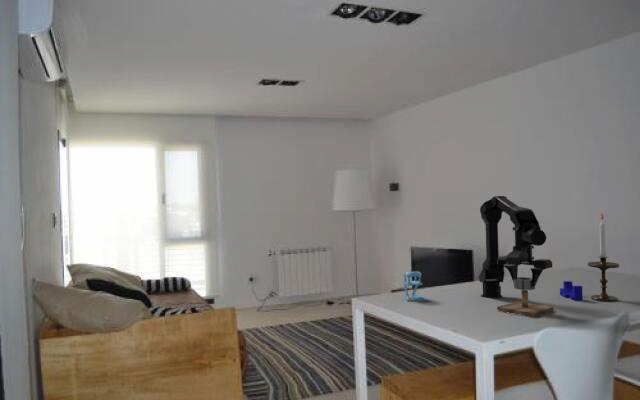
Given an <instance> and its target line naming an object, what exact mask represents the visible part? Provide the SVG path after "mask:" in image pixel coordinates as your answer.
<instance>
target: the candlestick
mask: <svg viewBox="0 0 640 400" xmlns="http://www.w3.org/2000/svg"><path fill="white" fill-rule="evenodd" d="M600 219H601V220H600V221H601V222H600V223H599V254H600V256H598V258H599V261H590V262H587V267H591V268H597V269H599V271H600V270H601V279H599V283H600V284H601V286H600V288H601V293H600V294H594V295H590V297H591V298H590V299H591V300H592V301H596V302H601V303H602V302H603V303H604V302H606V303H614V302H618V297H617V296H613V295H608V293H607V288H608V286H607V284H608V279H606V271H607V270H609V269H617V268H620V264H619V263H617V262H611V261H607V258H609V256H606V255H607V254H606V252H607V251H606V249H607V248H606V223H604V215H603V212H601V214H600Z"/></svg>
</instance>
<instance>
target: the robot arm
mask: <svg viewBox="0 0 640 400" xmlns="http://www.w3.org/2000/svg"><path fill="white" fill-rule="evenodd" d="M479 212H480V215H481V216H480V217H481V219H482V220H483V223H484V224H485V246H486V248H485V249H486V251H485V253H486V255H485V256H486V258H485V260H484V261H483V263H482V269H481V271H480V273H479V275H478V280H479V282H480V283H481V284H482V294H480V296H481V297H484V298H491V299H497V298H500V297H503V295H502V293H501V292H502V287H501V283H504V279H505V269H507V271H508V273H509V275H510V277H511V279H512V282H513V283H514V278H516V277H518V273H519V272H518V271H519V270H518V267H519V266H521V265H524V266H525V265H526V266H533V267H532V268H530V271H531V278H532V286H533V287H535V288H536V285H537V284H538V280H539V278H540V276H541V275H542V273H543V271H545V270H546V269H550V268H553V261H552V260H551V259H549V258H547V259H546V258H545V259H544V258H538V259H535V256H533V249H534V248H535V246H543V245H544V244H545V243H546V241H547V235H546V233H545V231H544V230H542V227H541V225H540V222H539V220H538V219H537V217H536V215H535V213H534V211H533V210H532V209H531V208H528V207H524V206H523V207H522V206H519V205H518V204H516V203H514V202H513V201H512V200H511V199H509V198H507V196H504V195H495V196H492V198H490V199H489V200H487V201H485V202H483V203H482V205H481V206H480V207H479ZM502 213H504V214H507V216H509V220H510V222H511V223H512V224H513V225H514V226H513V227H512V231H514V245H513V246H512V251H510V252H509V253H508V254H506V255H501V256H500V255H499V254H500V253H499V252H500V251H499V250H500V249H499V223H500V221H501V220H502V218H503V217H502Z"/></svg>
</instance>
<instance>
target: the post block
mask: <svg viewBox="0 0 640 400" xmlns="http://www.w3.org/2000/svg"><path fill="white" fill-rule="evenodd" d="M496 308H497V310H499V311H498V312H501V311H503V312H502V313H506V312H509V313H508V314H511V313H515V314H514V315H517V314H521V315H520V316H522V315H525V316H524V317H527V316H529V317H528V318H537V317H540V316H543V315H545V314H549V313H553V312H554V306H549V305H543V304H538V303H529V290H521V301H517V300H516V301H513V302H510V303H506V304H503V305H499V306H497V307H496Z"/></svg>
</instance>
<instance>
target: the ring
mask: <svg viewBox="0 0 640 400" xmlns="http://www.w3.org/2000/svg"><path fill="white" fill-rule="evenodd" d="M513 288H514V289H516V290H527V291H533V290H535V289H536V286H535V287H533V286H532V277H524V276H517V277H516V278H514V282H513Z"/></svg>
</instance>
